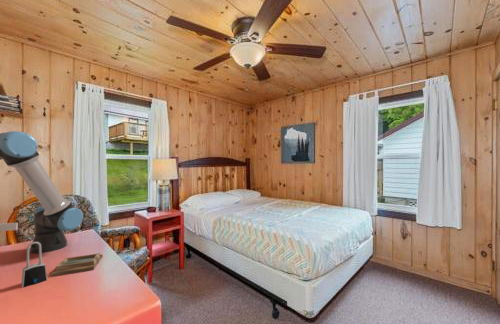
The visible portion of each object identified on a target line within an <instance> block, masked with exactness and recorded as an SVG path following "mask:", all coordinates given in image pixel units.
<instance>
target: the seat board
mask: <svg viewBox="0 0 500 324" xmlns="http://www.w3.org/2000/svg"><path fill="white" fill-rule="evenodd" d="M102 258H103V253H102V254H101V253H100V252H99V253H93V254H85V255H79V256H71V257H65V258H63V260H62V261H61V262H60V263H58V265H56V266H55V270H54V271H52V272H51V278H52V277H53V278H54V277H57V276H62V275H63V276H64V275H65V276H66V275H71V274H76V273H82V272H87V271H88V272H89V271H93V270H95V268H96V267H97V265H98V264H99V263H100V261H101V260H102Z"/></svg>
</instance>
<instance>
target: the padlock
mask: <svg viewBox="0 0 500 324" xmlns="http://www.w3.org/2000/svg"><path fill="white" fill-rule="evenodd" d="M32 244H38V246H39V253H38V260H39V261H38V263H34V264H30V247H31V245H32ZM42 255H43V252H42V253H41V244H40V243H39V242H33V241H32V242H30V243H28V244H27V247H26V266H24V267H23V268H22V272H21V274H22V276H21V283H20V284H21V287H22V288H26V287H30V286H34V285H38V284H39V283H40V284H41V283H43V282H46V281H48V274H47V267H46V264H45V263H44V262H43V261H42Z"/></svg>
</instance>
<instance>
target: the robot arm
mask: <svg viewBox="0 0 500 324" xmlns="http://www.w3.org/2000/svg"><path fill="white" fill-rule="evenodd" d="M39 157H40V153H39V152H38V142H37V140H36V138H35V137H33V135H31V134H28V133H27V132H24V131H19V130H17V131H16V130H15V131H12V130H10V131H7V132H0V160H2V161H4V163H5V164H6V165H7V167H9V168H14V169H15V170H16V172H17V173H18V174H19V176H20V177H21V179H22V181H24V183H25V184H26V185H27V187H28V189H30V191H31V192H32V194H33V195H34V197H35V198H36V200H38V202H39V203H40V205H41V206H39V207H35V209H34V211H33V217H34V221H33V222H34V237H33V239H32V242H39V243H40V244H41V253H42V254H43V253H47V252H53V251H56V250H60V249H63V248H65V247H66V246H68V240H67V237H66V235H65V233H64V232H70V231H74V230H76V229H77V228H79V226H80V225H81V223H82V221H83V220H84V214H83V211H82V210H81V209H80V208H77V207H75V206H74V205H73V204H72V201H70V200H67V199H65V198H64V196H63V195H62V194H61V192H60V190H59V189H58V188H57V186H56V184H55V183H54V181H53V180H52V179H51V177H50V176H49V174H48V172H47V171H46V169H44V167H43V165H42V164H41V162H40V161H39ZM18 225H19V223H18V222H10V223H9V222H8V223H7V222H5V223H0V232H7V231H8V232H9V231H18ZM29 253H32V254H39V246H38V244H32V245H31V246H30V248H29Z"/></svg>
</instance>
